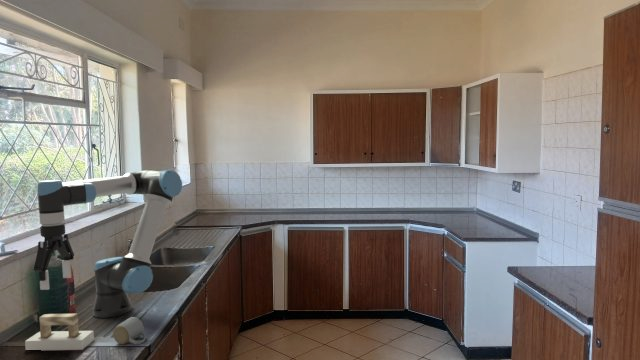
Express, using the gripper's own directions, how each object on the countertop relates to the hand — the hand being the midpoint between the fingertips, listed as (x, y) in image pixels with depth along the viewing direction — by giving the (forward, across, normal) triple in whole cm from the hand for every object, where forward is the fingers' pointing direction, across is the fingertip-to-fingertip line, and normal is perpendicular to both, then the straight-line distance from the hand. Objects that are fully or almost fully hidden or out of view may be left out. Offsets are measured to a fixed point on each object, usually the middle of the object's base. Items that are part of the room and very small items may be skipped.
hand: (56, 283), depth 161 cm
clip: (+23, 0, 0) cm, 23 cm away
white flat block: (+23, 0, 0) cm, 23 cm away
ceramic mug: (+23, -2, +25) cm, 34 cm away
